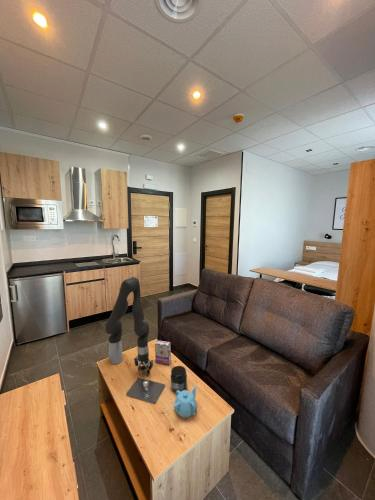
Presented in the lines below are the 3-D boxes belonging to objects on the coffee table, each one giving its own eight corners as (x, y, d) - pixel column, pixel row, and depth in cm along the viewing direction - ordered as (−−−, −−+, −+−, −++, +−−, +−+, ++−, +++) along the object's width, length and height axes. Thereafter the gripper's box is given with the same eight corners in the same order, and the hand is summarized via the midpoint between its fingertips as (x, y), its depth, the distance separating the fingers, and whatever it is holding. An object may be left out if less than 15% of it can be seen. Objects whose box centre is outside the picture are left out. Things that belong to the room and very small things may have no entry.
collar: (137, 375, 147) (137, 370, 146) (142, 369, 153) (142, 364, 152) (145, 377, 145) (145, 371, 144) (150, 371, 151) (150, 365, 150)
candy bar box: (171, 361, 161) (170, 341, 159) (168, 365, 156) (168, 345, 154) (158, 359, 165) (157, 339, 162) (155, 363, 160) (154, 343, 157)
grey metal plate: (126, 395, 131) (125, 386, 130) (138, 379, 144) (137, 370, 143) (155, 404, 124) (154, 394, 123) (165, 386, 137) (164, 377, 136)
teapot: (172, 420, 114) (172, 403, 112) (176, 397, 128) (176, 382, 126) (195, 422, 113) (195, 405, 111) (197, 399, 127) (197, 383, 125)
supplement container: (183, 379, 143) (183, 363, 141) (189, 390, 133) (189, 373, 132) (168, 383, 139) (168, 367, 138) (173, 396, 130) (173, 378, 128)
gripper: (131, 352, 145) (132, 374, 148) (149, 356, 141) (150, 378, 143) (137, 346, 152) (138, 367, 155) (154, 349, 148) (155, 371, 150)
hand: (144, 372), depth 149 cm, fingers closed on collar, 6 cm apart
